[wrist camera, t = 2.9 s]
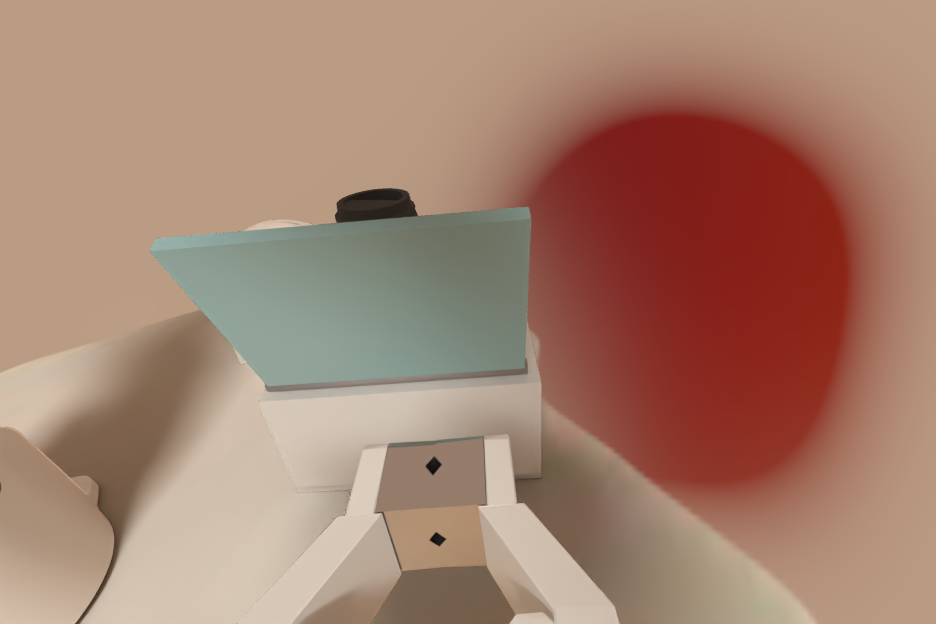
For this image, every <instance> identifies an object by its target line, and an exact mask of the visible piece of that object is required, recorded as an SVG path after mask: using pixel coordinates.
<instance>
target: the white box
mask: <svg viewBox="0 0 936 624" xmlns="http://www.w3.org/2000/svg"><path fill="white" fill-rule="evenodd" d="M525 358H527V364H528V374H521V375H507V376H492V377H478V378H464V379H449V380H435V381H421V382H406V383H392V384H378V385H364V386H349V387H335V388H321V389H306V390H292V391H278V392H267V390H266V389H265V390H264V392H263V394H262V395H261V397H260V399H259V401H258V404H259V406H260V409H261V411H262V413H263V415H264V418H265V420H266V422H267V424H268V427H269V429H270V431H271V433H272V436H273V438H274V440H275V442H276V445H277V447H278V449H279V451H280V454H281V456H282V458H283V460H284V463H285V465H286V467H287V469H288V472H289V474H290V476H291V478H292V481H293V483H294V485H295V487H296V490H297V492H298V493H302V492H319V491H335V490H352V488H353V484H354V480H355V476H356V473H357V469H358V465H359V461H360V457H361V454H362V451H363V449H364V448H365V446H366V445H371V444H389V443H400V442H418V441H437V440H442V439H453V438H464V437H475V436H487V435H499V434H508V435H509V438H510V446H511V455H512V464H513V472H514V480H517V479H533V478H541V379H540V374H539V370H538V366H537V361H536V357H535V352H534V348H533V344H532V339H531V335H530V330H529V326H528V322H527V326H526V349H525Z"/></svg>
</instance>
